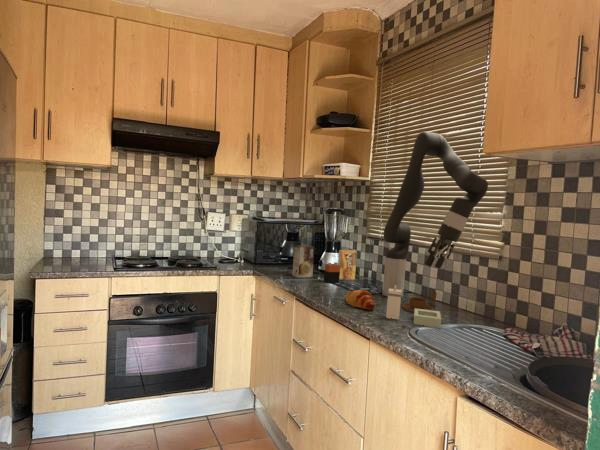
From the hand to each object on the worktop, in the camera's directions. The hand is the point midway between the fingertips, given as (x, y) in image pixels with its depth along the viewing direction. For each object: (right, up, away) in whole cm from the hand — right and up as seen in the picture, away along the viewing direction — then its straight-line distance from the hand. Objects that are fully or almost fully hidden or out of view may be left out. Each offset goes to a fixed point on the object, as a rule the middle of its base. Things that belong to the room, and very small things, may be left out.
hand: (432, 266), depth 162 cm
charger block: (-14, -19, +1) cm, 24 cm away
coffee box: (-47, -12, +73) cm, 88 cm away
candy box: (-24, -14, +76) cm, 81 cm away
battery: (-32, -14, +62) cm, 72 cm away
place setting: (+2, -20, +18) cm, 27 cm away
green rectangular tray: (-3, -20, -2) cm, 20 cm away
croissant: (-24, -17, +16) cm, 34 cm away
